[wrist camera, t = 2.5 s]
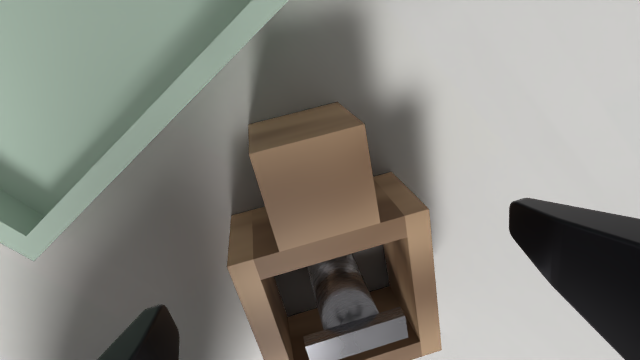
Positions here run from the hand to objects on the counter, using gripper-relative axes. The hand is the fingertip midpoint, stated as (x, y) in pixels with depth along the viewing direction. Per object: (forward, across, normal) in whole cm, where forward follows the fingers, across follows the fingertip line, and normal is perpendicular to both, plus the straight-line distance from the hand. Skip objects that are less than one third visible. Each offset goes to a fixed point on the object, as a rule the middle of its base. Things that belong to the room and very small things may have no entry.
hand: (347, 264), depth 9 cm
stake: (+8, 0, +6) cm, 10 cm away
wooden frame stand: (+8, 0, +4) cm, 9 cm away
